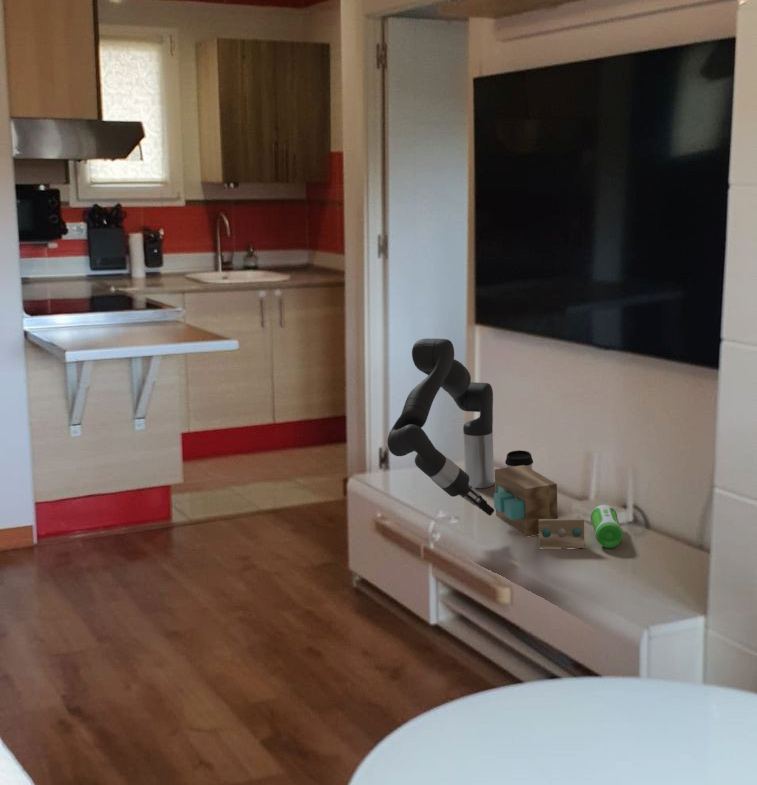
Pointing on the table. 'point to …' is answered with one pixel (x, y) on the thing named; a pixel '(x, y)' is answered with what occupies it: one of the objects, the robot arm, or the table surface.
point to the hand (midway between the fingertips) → (491, 512)
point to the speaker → (606, 526)
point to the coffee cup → (519, 459)
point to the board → (561, 533)
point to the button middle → (501, 500)
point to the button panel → (528, 497)
